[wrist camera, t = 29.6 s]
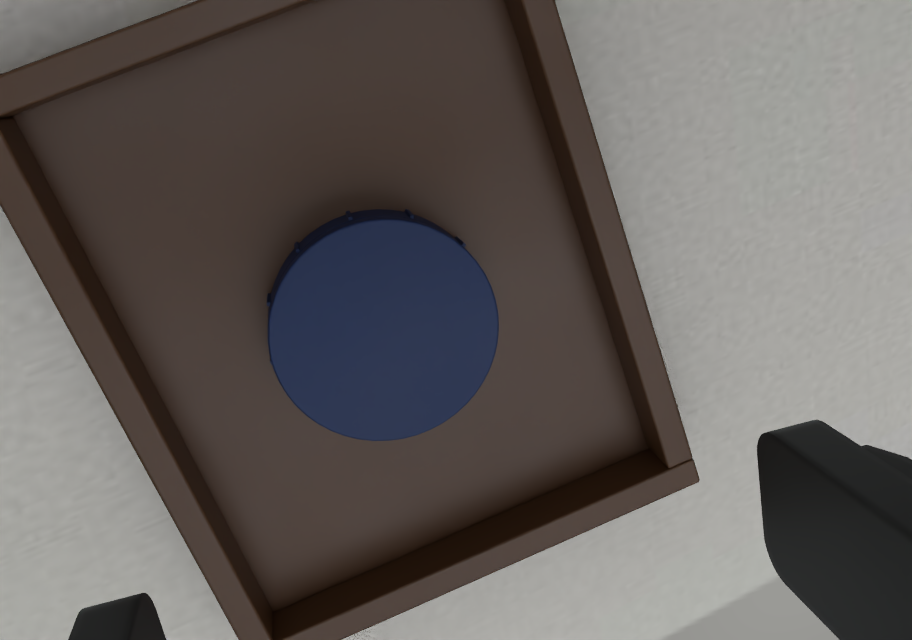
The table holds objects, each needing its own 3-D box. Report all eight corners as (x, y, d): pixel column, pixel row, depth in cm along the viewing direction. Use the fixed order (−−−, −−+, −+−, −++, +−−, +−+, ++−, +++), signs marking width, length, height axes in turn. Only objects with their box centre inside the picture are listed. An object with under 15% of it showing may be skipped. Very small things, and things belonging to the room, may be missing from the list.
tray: (669, 451, 27) (700, 482, 25) (259, 631, 26) (258, 677, 24) (497, -104, 22) (519, -121, 20) (-29, 94, 21) (-61, 96, 19)
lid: (333, 167, 22) (337, 175, 21) (524, 272, 24) (540, 286, 23) (228, 363, 23) (225, 384, 22) (420, 451, 25) (429, 475, 23)
